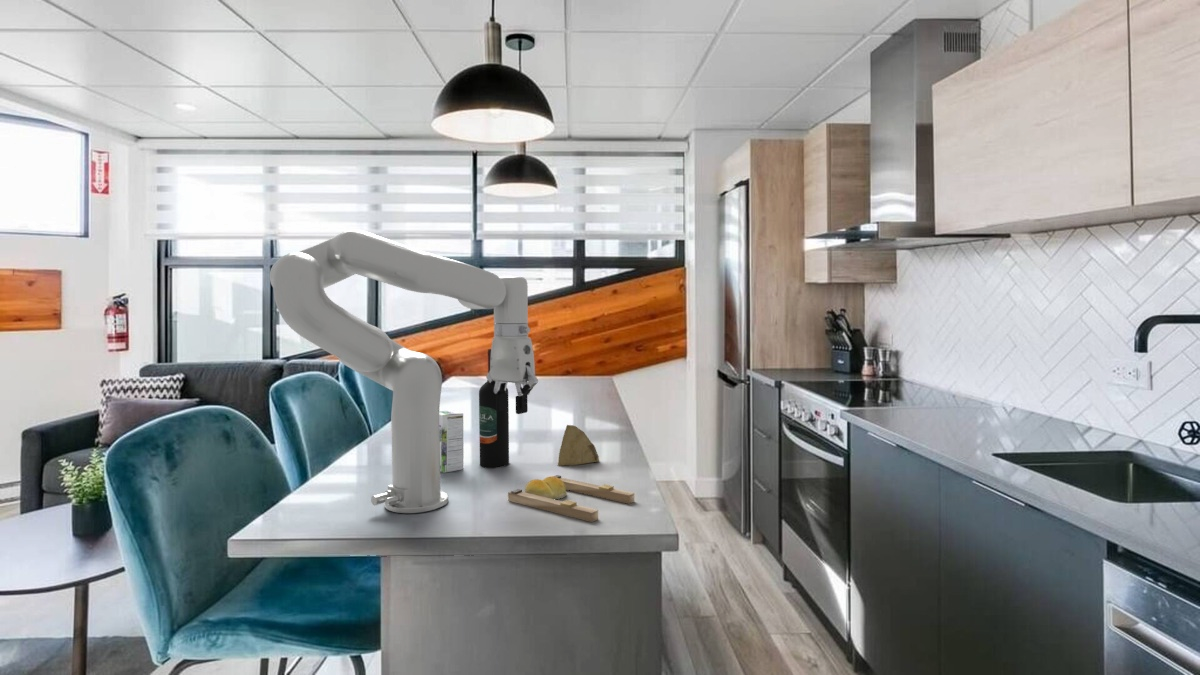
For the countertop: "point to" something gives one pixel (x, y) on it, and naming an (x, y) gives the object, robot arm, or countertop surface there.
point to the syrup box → (451, 441)
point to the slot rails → (569, 506)
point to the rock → (576, 448)
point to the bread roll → (547, 488)
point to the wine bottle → (492, 428)
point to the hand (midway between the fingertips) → (511, 410)
